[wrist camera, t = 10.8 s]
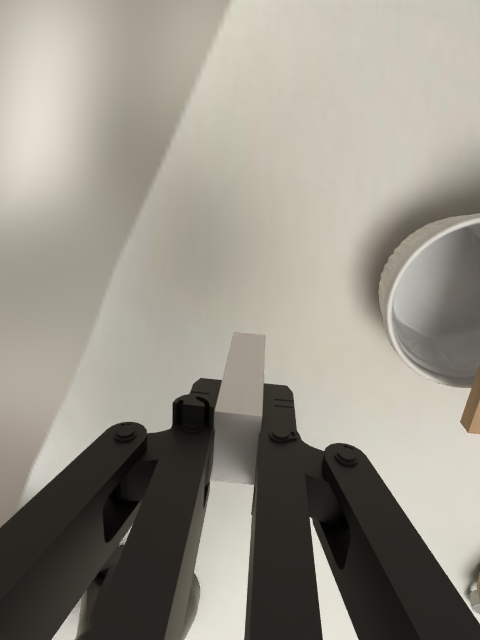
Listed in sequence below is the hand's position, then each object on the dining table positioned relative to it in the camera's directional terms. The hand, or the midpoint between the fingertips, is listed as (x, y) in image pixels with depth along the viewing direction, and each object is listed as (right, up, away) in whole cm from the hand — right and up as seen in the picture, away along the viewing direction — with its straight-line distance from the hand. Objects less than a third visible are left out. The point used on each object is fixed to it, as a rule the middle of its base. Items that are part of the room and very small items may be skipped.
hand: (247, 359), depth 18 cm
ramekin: (+18, +5, +16) cm, 24 cm away
